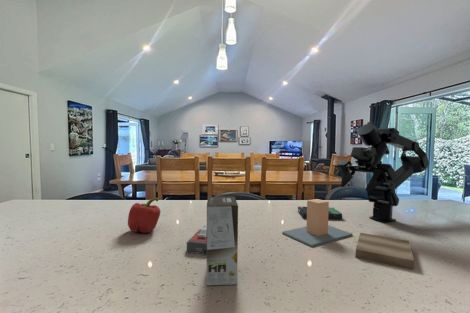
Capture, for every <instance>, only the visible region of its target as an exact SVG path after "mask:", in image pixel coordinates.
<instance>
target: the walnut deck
mask: <svg viewBox="0 0 470 313" xmlns="http://www.w3.org/2000/svg"><path fill="white" fill-rule="evenodd" d="M355 258H359V259H363V260H367V261H372V262H376V263H377V262H378V263H382V264H386V265H391V266H396V267H401V268H405V269H409V270H414V269H415V258H414V256H413V251H412V247H411V244H410V240H406V239H401V238H396V237H395V238H394V237H389V236H382V235H378V234H377V235H375V234H372V233H363V232H359V236H358V239H357V243H356V247H355Z"/></svg>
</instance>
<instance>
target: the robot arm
mask: <svg viewBox="0 0 470 313" xmlns="http://www.w3.org/2000/svg"><path fill="white" fill-rule="evenodd" d="M356 130H357V131H356V133H357V135H358V136H359V138H360V141H362V143H363V145H365V146H367V147H360V146H357V147H356V146H355V147H352V149H351V153H350V157H352V158H353V159H354V163H355V164H353V163H352V162H351V160H350V161H349V160H339V162H338V163H337V167H338V169H339V170H340V172H341V173H342V174H341V183H340V186H341V188H344V187H345V186H347V184H348V183H349V182H350V181H351V180H352V179H353V178H354V175H355V174H356V172H359V173H364V174H372V177H371V178H370V180H369V181H368V183H367V185H366V187H365V191H366V194H367V198H368V202H369V203H373V207H372V215H371V216H369V219H371V220H374V221H379V222H381V223H391V222H396V221H397V219H396V218H393V207H397V206H399V203H400V199H399V197H398V195H397V194H396V189H398V188H399V187H400V186H401V185H402V184H403V183H404V182H406V181H407V180H408V179H409V178H410V177H411V176H412V175H414V174H418V173H422V172H425V171H426V170H427V168H428V167H429V165H430V163H429V159H428V155H427V152H425V150H423V149H422V148H421V146H420V144H419V141H416V140H412V139H410V138H408V137H406V136H403V135H401V134H400V131H399V130H397V128H395V127H381V128H379V127H378V128H377V126H376V123H375V121H368V122H367V123H365V124H363V125H362V126H360V127H358V129H356ZM388 145H390V146H393V147H396V148H398V149H401V151H402V153H401V155H400V160H401V166H400V167H398V168H397V169H394V167H393V166H392V165H391V163H383V162H382V159H383V158H384V156H385V155H389V154H390V150H389V147H388ZM406 152H414V154H416V155H417V156H416V155H407V153H406ZM356 164H357V165H356Z"/></svg>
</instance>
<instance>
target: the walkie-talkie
mask: <svg viewBox="0 0 470 313" xmlns="http://www.w3.org/2000/svg"><path fill="white" fill-rule="evenodd" d="M187 251H188V252H187ZM186 252H187V253H191V252H194V253H193V254H202V253H203V254H204V255H207V225H204V226H203V227H202V228H200V229H198V230H197V232H195V233H194V235H193V236H191V237H190V238H189V239H188V240H187V241H186ZM203 254H202V255H203Z"/></svg>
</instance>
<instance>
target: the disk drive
mask: <svg viewBox="0 0 470 313" xmlns="http://www.w3.org/2000/svg"><path fill="white" fill-rule="evenodd" d="M297 213H298V214H299V215H300V217H301V218H302V219H304V220H305V219H306V220H307V206H297ZM328 220H337V221H340V220H341V221H342V220H343V213H342V212H341V211H339V209H338V210H337V209H335V207H329V212H328Z"/></svg>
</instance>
